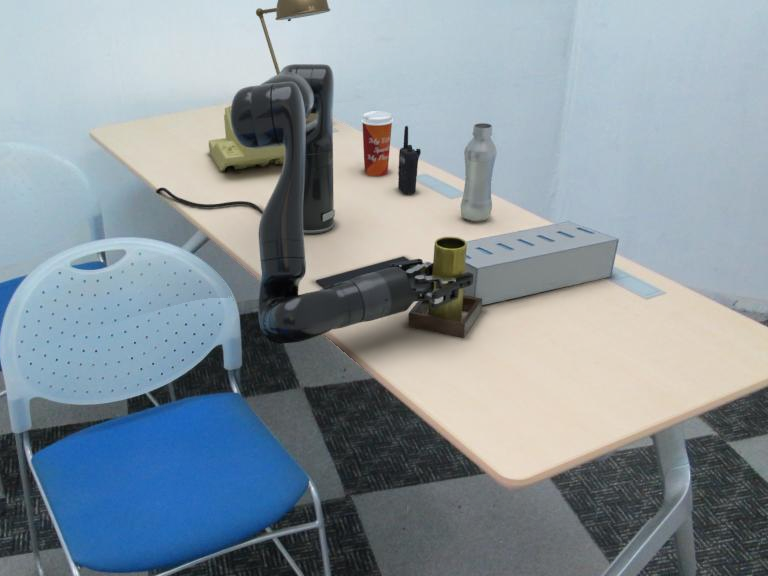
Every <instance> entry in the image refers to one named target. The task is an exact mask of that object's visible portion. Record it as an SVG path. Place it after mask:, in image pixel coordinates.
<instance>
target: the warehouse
mask: <svg viewBox="0 0 768 576" xmlns="http://www.w3.org/2000/svg"><path fill="white" fill-rule="evenodd" d="M619 240H620V238H617V237H615V236H612V235H608V234H606V233H603V232H601V231H597V230H594V229H592V228H589V227H586V226H584V225H580V224H578V223H575V222H572V221H564V222H558V223H553V224H548V225H543V226H537V227H533V228H528V229H523V230H518V231H517V230H516V231H512V232H507V233H502V234H498V235H497V234H496V235H492V236H487V237H482V238H476V239H471V240H465V241H466V243H467V249H466V260H465V273H468V272H470V273H472V274H473V283H472V285H471V286H468V287H465V288H464V290H463V295H465V296H471V297H476V298H481V299H482V306H485V305H489V304H490V305H491V304H494V303H499V302H503V301H509V300H512V299H516V298H521V297H525V296H529V295H534V294H539V293H543V292H549V291H552V290H557V289H563V288H566V287H570V286H575V285H579V284H584V283H589V282H592V281H598V280H602V279H607V278H611V277H612V275H613V270H614V266H615V260H616V255H617V251H618V245H619V242H620V241H619Z"/></svg>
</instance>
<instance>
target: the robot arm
mask: <svg viewBox="0 0 768 576" xmlns="http://www.w3.org/2000/svg"><path fill="white" fill-rule="evenodd" d="M333 72H334V71H333V69H332V67H331V66H330V65H329V64H321V63H318V64H317V63H316V64H315V63H312V64H311V63H310V64H309V63H308V64H307V63H305V64H303V63H302V64H301V63H300V64H299V63H298V64H297V63H294V64H289V65H286V66H284V67H283V68H282V69H281V70H280V73H279V74H278V75H277V74H275V75H274V76H271V77H270V78H269V79H267V80H265V81H264V82H262V83H261V84H258V85H251V86H246V87H243V88H240V89H238V90H237V92H236V93H235V95H234V96H233V98H232V101H231V105H230V106H231V111H230V120H231V126H232V130H233V133H234V135H235V137H236V138H237V140H238V141H239V142H240V144H242V145H243V146H244V147H246V148H250V149H260V148H269V147H278V146H285V156H284V163H283V164H282V168H281V172H280V175H279V176H278V177H279V178H278V180H277V182H276V185H275V187H274V189H273V191H272V193H271V195H270V197H269V199H268V200H267V201H268V202H267V203H266V206H265V208H264V210H262V209H261V208H260V207H259V206H258V205H257V204H255V203H253V202H251V201H243V200H238V201H237V200H236V201H227V202H220V203H208V204H207V203H198V202H193V201H189V200H187V199H183V198H180V197H178V196H176V195H175V194H173V193H172V192H171V191H170V190H168V189H167V188H166V187H159V188H157V190H156V191H155V193H157V194H159V193H160V192H164V193H165V194H167V195H168V196H169V197H170V198H172V199H173V200H175V201H177V202H180V203H183V204H185V205H188V206H191V207H197V208H205V209H208V208H209V209H210V208H211V209H213V208H221V207H228V206H237V205H239V206H240V205H243V206H249V207H252V208H254V210H256V211H258V212H259V213H260V215H261V218H260V221H259V225H258V247H259V259H260V261H259V262H260V270H261V278H260V284H259V291H258V292H259V293H258V305H257V313H258V314H257V317H258V322H259V323H258V324H259V327H260V330H261V332H262V334H263V335H264V337H265V338H266V339H267V340H268V341H269V342H271V343H274V344H277V345H279V344H280V345H281V344H282V345H283V344H292V343H294V344H295V343H298V342H299V343H300V342H303V341H307V340H309V339H310V340H311V339H312V338H315V337H318V336H321V335H323V334H326V333H328V332H330V331H332V330H333V331H334V330H338V329H343V328H346V327H350V326H354V325H357V324H360V323H365V322H372V321H375V320H379V319H383V318H385V317H389V316H393V315H397V314H400V313H403V312H406V311H407V310H408V309H409V308H410V307H411V306H412V305H413V303H415V302H418V301H424V300H428V301H430V302H431V307H432V308H438V307H440V306H442V305H444V304H447V303H449V302H451V301H453V300H455V299H457V298H458V297H459V289H461V288H465V287H468V286H471V285H472V283H473V274H472V273H470V272H468V273H464V274H461V275H457V276H454V277H449V278H442V277H441V276H439V275H438V276H431V275H432V272H433V262H431V261H424V262H423V259H421V258H413V259H409V260H408V261H402V262H395V263H391V264H390V268H387V269H383V270H380V271H376V272H372V273H369V274H365V275H361V276H358V277H356V278H354V279H351V280H349V281H345V282H341V283H338V284H334V285H331V286H328V287H325V288H323V287H322V288H321V289H320V290H315V291H310V292H306V293H301V294H299V285H300V283H301V281H302V280H303V279H304V277H305V275H306V269H307V266H306V265H307V260H306V247H305V234H309V235H312V234H313V235H315V234H322V233H325V232H328V231H330V230H332V229H333V228H334V227H335V220H334V219H335V217H336V210H335V207H334V205H335V201H334V200H335V199H334V128H333V127H334V124H333V123H334V119H333V118H334V117H333V116H334V115H333V114H334V97H335V96H334V93H335V81H334V79H335V77H334V73H333ZM310 114H316V115H317V118H316V119H315V120H314V121H312V122H311V123H309V124H307V125H306V119H307V118H308V116H309V115H310ZM412 265H415V267H413V268H412V269H410V266H412ZM434 282H436V289H435V291H433V290H434ZM446 283H448V285H447V286H445V287H443V288H442V285H443V284H446Z"/></svg>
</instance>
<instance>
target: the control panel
mask: <svg viewBox="0 0 768 576" xmlns="http://www.w3.org/2000/svg"><path fill="white" fill-rule="evenodd" d="M230 111H231V105H229V106H227V107H225V108H224V114H223V119H224V120H223V121H224V131H225V133H224V134H225V138H217V139H215V138H214V139H209V140H208V152H209V153H208V154H209V156H211V158H212V159H213V161H214V163H215V165H216V166H217V168H218V169H219V171H220V172H225V170H226V168H228V167H230V166H232V167H233V169H234V170H243V169H246V168H253V167H256V165H259V166H260V167H266V166H267V165H268V164H274V165H277V166H278V165H283V163H284V156H285V146H278V147H269V148H260V149H250V148H246V147H244V146H243V145H242V144H240V142H239V141H238V140H237V138H236V137H235V135H234V133H233V130H232V126H231V120H230Z"/></svg>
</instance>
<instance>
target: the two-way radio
mask: <svg viewBox="0 0 768 576" xmlns="http://www.w3.org/2000/svg"><path fill="white" fill-rule="evenodd" d="M421 153H422V151H421V148H416V149H414V148H413V145H412V144H409V126H408V125H405V126H404V131H403V147H400V149H399V152H398V171H397V172H398V173H397V175H398V179H397V180H398V181H397V183H398V184H397V189H398V190H399V191H400V192H401V193H403V194H404V195H413V194H415V193H416V189H417V177H418V165H419V160H420V159H419V158H420V156H421Z"/></svg>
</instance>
